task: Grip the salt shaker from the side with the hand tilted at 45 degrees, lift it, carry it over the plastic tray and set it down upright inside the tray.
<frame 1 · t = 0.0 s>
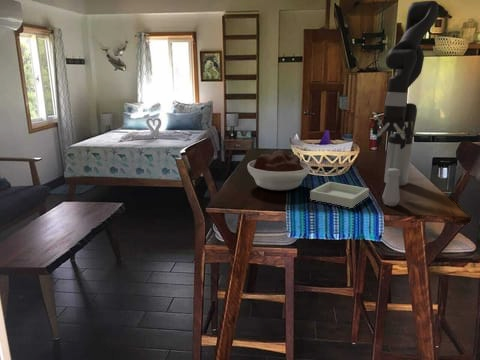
hand: (390, 147, 156), 17 cm above the table, tool pointing down, fingers open, 8 cm apart
tray: (339, 198, 149), on the table
salt shaker: (390, 204, 144), on the table
white bowl of pudding: (277, 187, 164), on the table
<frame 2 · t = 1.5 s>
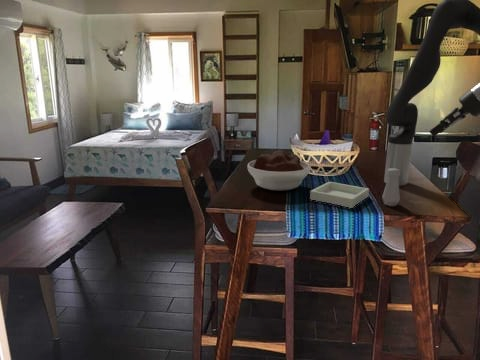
hand: (434, 132, 130), 27 cm above the table, tool tilted 45°, fingers open, 8 cm apart
nothing on the table moved.
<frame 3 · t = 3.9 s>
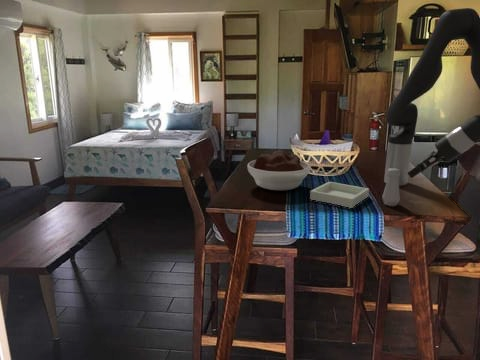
hand: (412, 173, 137), 12 cm above the table, tool tilted 45°, fingers open, 8 cm apart
nothing on the table moved.
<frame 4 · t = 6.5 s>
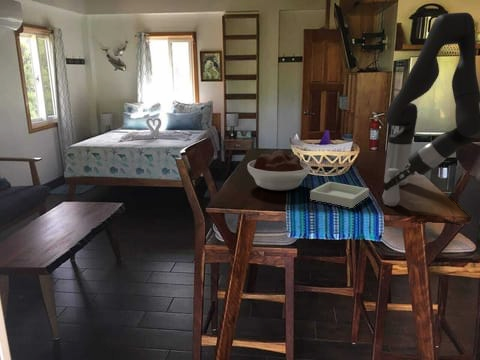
hand: (386, 187, 143), 6 cm above the table, tool tilted 45°, fingers closed on salt shaker, 3 cm apart
salt shaker: (390, 204, 144), on the table, touching gripper
everything else where it was.
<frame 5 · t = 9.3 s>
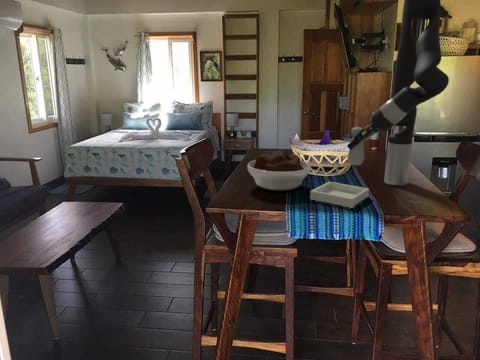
hand: (350, 146, 144), 20 cm above the table, tool tilted 45°, fingers closed on salt shaker, 3 cm apart
salt shaker: (355, 164, 144), point 13 cm above the table, touching gripper
everything else where it was.
when the fingers open (8 cm above the table, at t = 12.3 s): salt shaker stays where it is, resting on tray.
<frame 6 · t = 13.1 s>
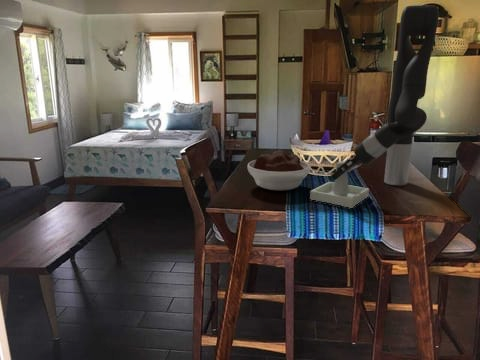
hand: (337, 175, 148), 9 cm above the table, tool tilted 45°, fingers open, 8 cm apart
salt shaker: (340, 196, 149), point 1 cm above the table, touching tray
everything else where it was.
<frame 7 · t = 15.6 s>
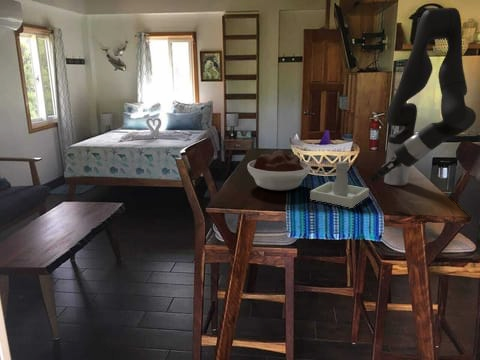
hand: (375, 178, 140), 10 cm above the table, tool tilted 45°, fingers open, 8 cm apart
nothing on the table moved.
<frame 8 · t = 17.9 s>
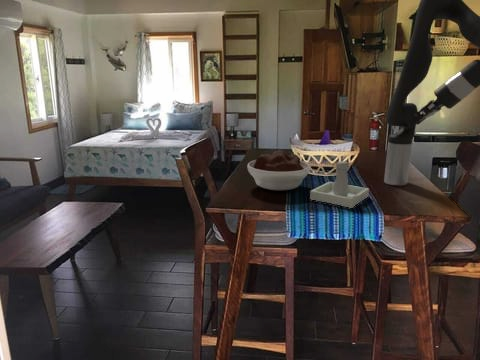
hand: (411, 123, 135), 29 cm above the table, tool tilted 45°, fingers open, 8 cm apart
nothing on the table moved.
at the end: salt shaker inside the target area on the tray (0.3 cm from its centre), point 0.8 cm above the tray's base; salt shaker tilted 0°; the gripper is holding nothing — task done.
